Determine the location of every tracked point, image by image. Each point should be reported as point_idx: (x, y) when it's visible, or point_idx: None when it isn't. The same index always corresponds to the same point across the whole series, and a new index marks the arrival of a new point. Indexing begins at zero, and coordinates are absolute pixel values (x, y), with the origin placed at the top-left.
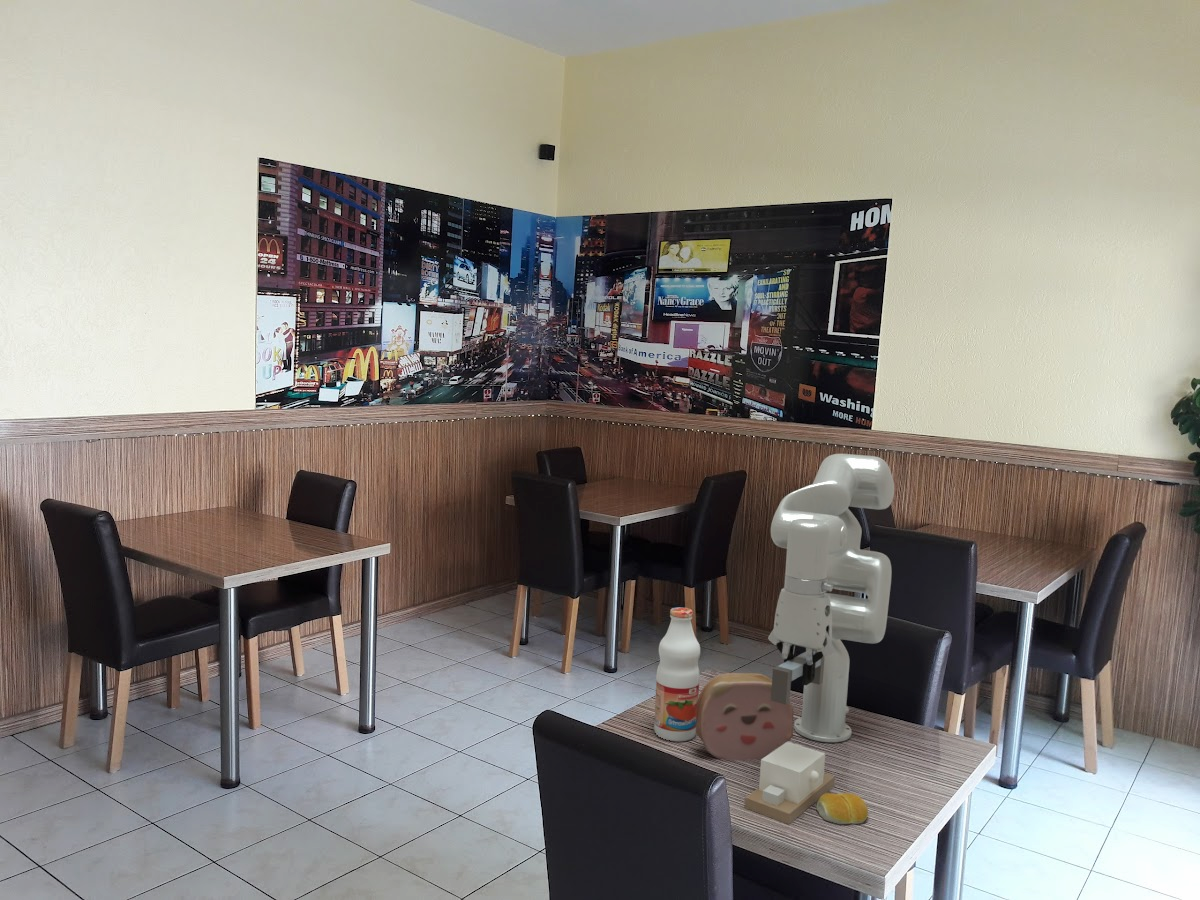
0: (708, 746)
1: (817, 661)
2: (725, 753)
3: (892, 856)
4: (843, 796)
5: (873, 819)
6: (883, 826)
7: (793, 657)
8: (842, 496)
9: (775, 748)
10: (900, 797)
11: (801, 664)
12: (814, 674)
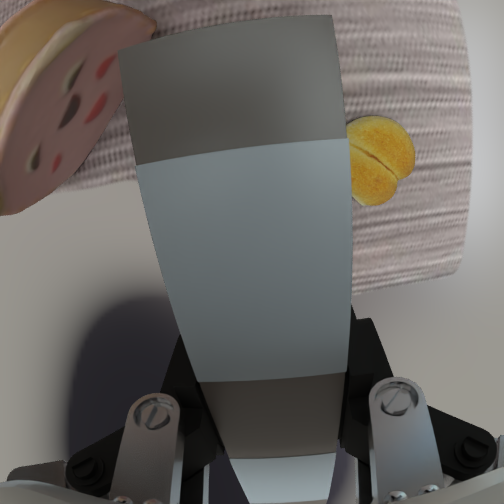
0: (68, 177)
1: (410, 380)
2: (89, 145)
3: (463, 222)
4: (377, 156)
5: (414, 135)
6: (433, 147)
7: (203, 410)
8: None
9: None
10: (409, 25)
11: (328, 457)
12: (375, 333)
